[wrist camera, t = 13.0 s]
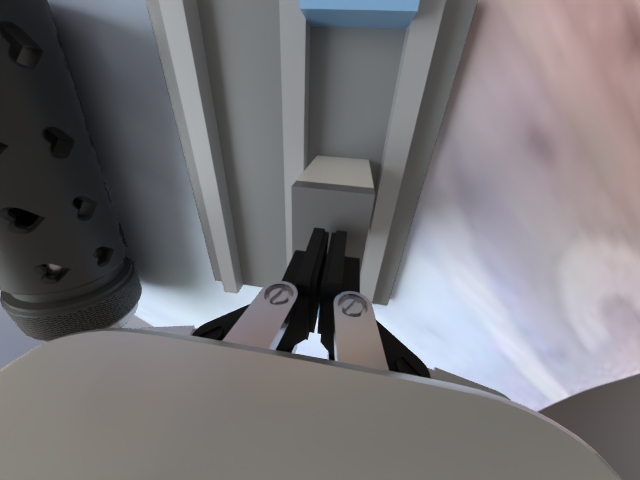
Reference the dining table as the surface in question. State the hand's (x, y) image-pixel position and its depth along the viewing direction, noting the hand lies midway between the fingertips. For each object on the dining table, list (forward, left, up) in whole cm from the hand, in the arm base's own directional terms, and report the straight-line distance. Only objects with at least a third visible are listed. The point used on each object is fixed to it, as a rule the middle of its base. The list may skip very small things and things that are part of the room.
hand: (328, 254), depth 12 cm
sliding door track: (0, -4, -10) cm, 10 cm away
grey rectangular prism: (0, 0, -9) cm, 9 cm away
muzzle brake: (+2, -25, -10) cm, 27 cm away
